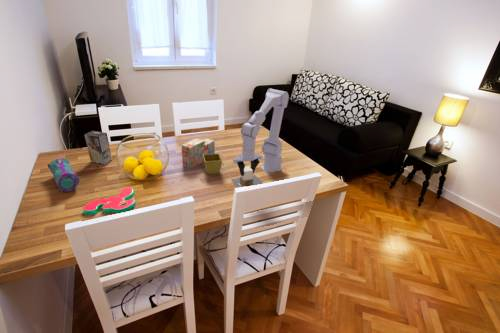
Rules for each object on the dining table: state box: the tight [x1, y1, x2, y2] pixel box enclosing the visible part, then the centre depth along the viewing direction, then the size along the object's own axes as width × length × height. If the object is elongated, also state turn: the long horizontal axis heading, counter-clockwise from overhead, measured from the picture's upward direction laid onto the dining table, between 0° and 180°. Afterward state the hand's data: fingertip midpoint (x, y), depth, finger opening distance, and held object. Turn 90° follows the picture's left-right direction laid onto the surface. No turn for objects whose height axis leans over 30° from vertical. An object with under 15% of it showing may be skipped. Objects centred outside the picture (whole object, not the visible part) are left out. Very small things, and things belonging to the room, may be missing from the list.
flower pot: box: [203, 152, 223, 175], centre depth 147 cm, size 9×9×9 cm
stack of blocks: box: [181, 137, 216, 169], centre depth 158 cm, size 21×6×12 cm, turn 149°
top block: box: [239, 165, 254, 181], centre depth 136 cm, size 4×4×5 cm
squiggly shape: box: [82, 186, 137, 216], centre depth 119 cm, size 20×16×2 cm
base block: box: [239, 176, 254, 187], centre depth 138 cm, size 5×5×4 cm
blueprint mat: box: [230, 174, 264, 187], centre depth 140 cm, size 14×14×1 cm
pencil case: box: [47, 157, 80, 192], centre depth 129 cm, size 21×9×10 cm, turn 42°
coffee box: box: [84, 130, 113, 165], centre depth 148 cm, size 9×6×16 cm
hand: (247, 173), depth 135 cm, fingers open, 5 cm apart
